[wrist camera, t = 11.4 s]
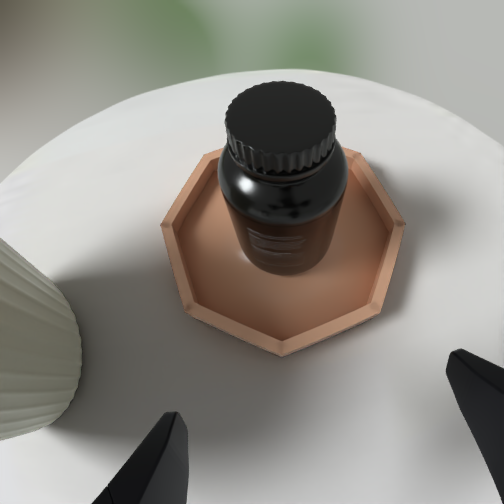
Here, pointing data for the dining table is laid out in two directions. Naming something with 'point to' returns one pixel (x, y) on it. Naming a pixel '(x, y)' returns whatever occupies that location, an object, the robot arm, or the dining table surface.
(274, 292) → the terracotta octagonal tray
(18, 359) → the canister
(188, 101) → the dining table surface
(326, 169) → the supplement bottle
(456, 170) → the dining table surface
